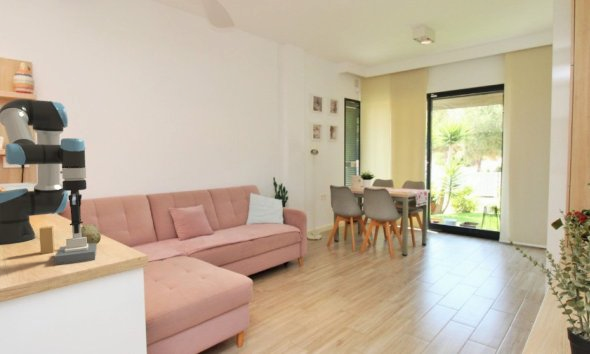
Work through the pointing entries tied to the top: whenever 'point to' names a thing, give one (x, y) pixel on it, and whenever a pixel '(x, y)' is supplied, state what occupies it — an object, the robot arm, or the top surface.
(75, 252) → the socket board
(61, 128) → the robot arm
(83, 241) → the white stepped block
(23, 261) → the top surface
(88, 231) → the coral
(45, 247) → the tall wooden block
